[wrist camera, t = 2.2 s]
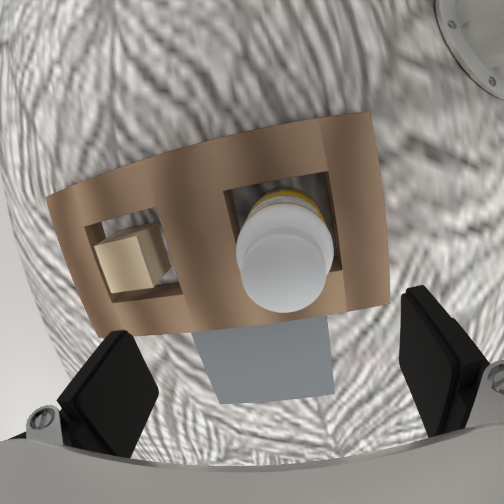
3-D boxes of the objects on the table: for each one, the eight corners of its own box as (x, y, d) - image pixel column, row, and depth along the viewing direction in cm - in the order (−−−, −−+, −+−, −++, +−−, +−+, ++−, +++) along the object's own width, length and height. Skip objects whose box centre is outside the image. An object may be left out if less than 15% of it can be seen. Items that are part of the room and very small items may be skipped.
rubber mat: (325, 309, 25) (326, 312, 25) (333, 390, 29) (334, 393, 28) (191, 326, 28) (190, 329, 27) (220, 400, 31) (220, 404, 30)
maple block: (157, 221, 24) (136, 236, 21) (171, 266, 26) (153, 287, 22) (118, 230, 25) (94, 246, 21) (132, 272, 26) (111, 293, 23)
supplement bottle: (306, 264, 24) (314, 338, 15) (240, 242, 24) (212, 305, 15) (332, 200, 22) (361, 243, 13) (262, 176, 22) (245, 202, 13)
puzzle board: (360, 114, 20) (369, 111, 17) (382, 288, 24) (390, 303, 22) (62, 191, 24) (45, 197, 22) (110, 324, 29) (98, 337, 26)
